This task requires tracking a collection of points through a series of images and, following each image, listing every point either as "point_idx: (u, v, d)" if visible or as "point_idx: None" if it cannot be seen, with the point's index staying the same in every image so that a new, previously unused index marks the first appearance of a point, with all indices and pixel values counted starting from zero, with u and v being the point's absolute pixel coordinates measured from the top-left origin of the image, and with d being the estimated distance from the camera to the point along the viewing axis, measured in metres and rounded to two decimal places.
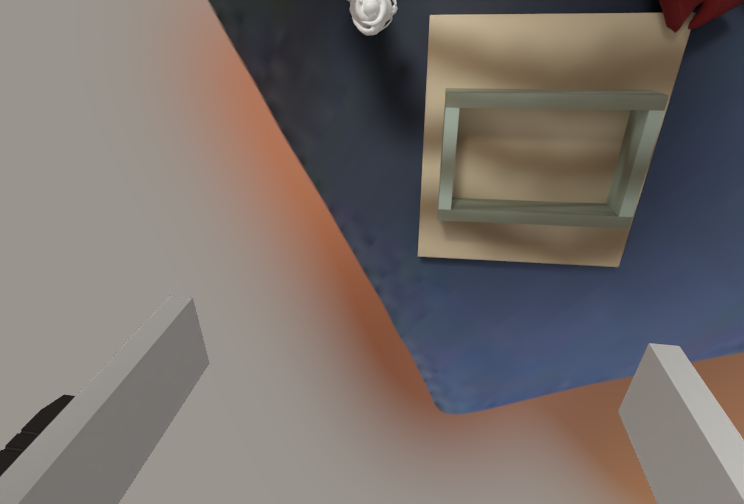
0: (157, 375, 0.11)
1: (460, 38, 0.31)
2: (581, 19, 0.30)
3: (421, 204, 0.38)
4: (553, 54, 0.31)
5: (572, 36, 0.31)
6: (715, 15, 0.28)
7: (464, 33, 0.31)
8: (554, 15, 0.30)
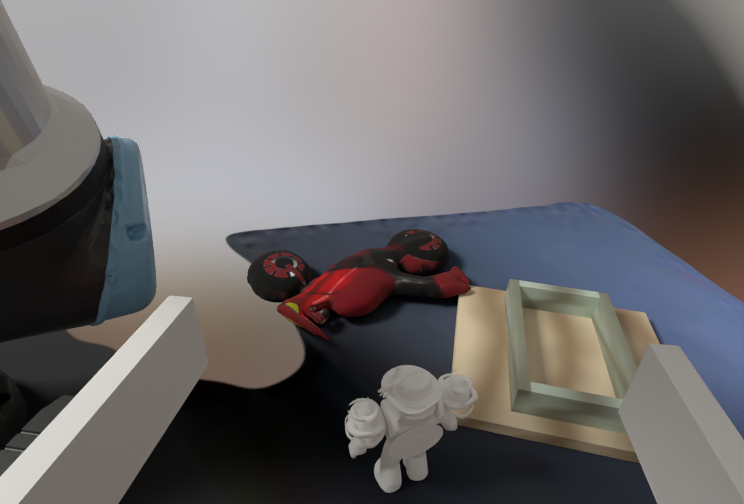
0: (157, 375, 0.11)
1: None
2: (460, 327, 0.44)
3: None
4: (482, 341, 0.42)
5: (470, 331, 0.43)
6: (463, 274, 0.50)
7: None
8: (456, 339, 0.42)
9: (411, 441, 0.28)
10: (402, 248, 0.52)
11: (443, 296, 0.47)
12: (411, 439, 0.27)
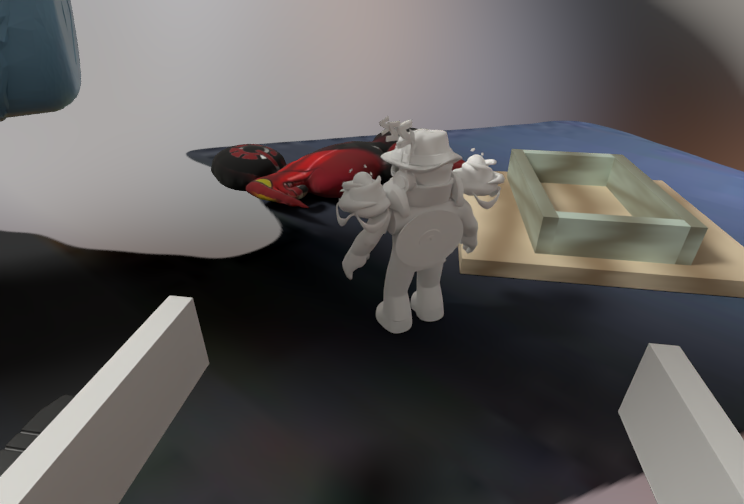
0: (157, 375, 0.11)
1: (482, 243, 0.31)
2: None
3: (697, 276, 0.27)
4: None
5: (474, 199, 0.37)
6: None
7: (477, 241, 0.31)
8: None
9: (424, 236, 0.21)
10: None
11: None
12: (424, 233, 0.21)
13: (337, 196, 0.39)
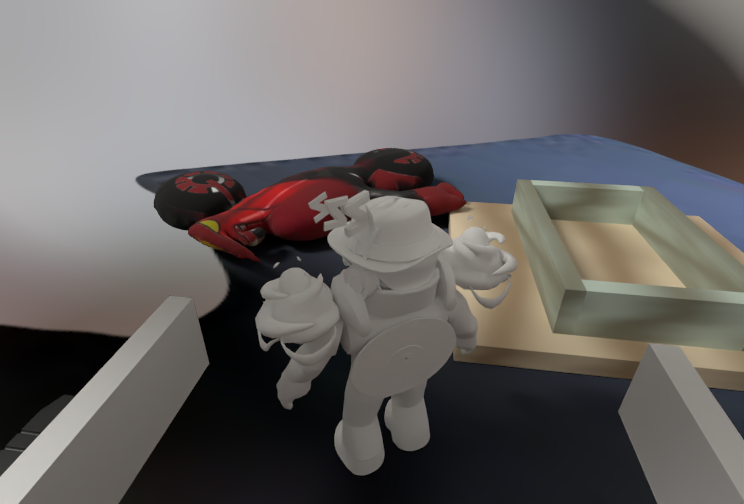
0: (157, 375, 0.11)
1: (483, 316, 0.23)
2: None
3: None
4: None
5: None
6: (455, 188, 0.37)
7: (476, 313, 0.23)
8: None
9: (396, 356, 0.14)
10: (371, 164, 0.39)
11: None
12: (395, 352, 0.14)
13: (303, 240, 0.31)
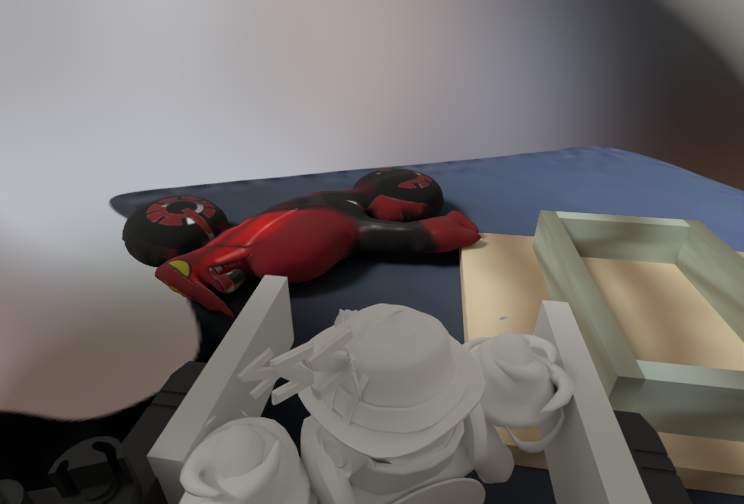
0: (265, 345, 0.12)
1: None
2: (470, 287, 0.26)
3: None
4: (511, 306, 0.24)
5: (489, 293, 0.25)
6: (468, 218, 0.32)
7: None
8: (467, 306, 0.24)
9: None
10: (372, 188, 0.34)
11: (437, 249, 0.29)
12: None
13: (289, 283, 0.27)
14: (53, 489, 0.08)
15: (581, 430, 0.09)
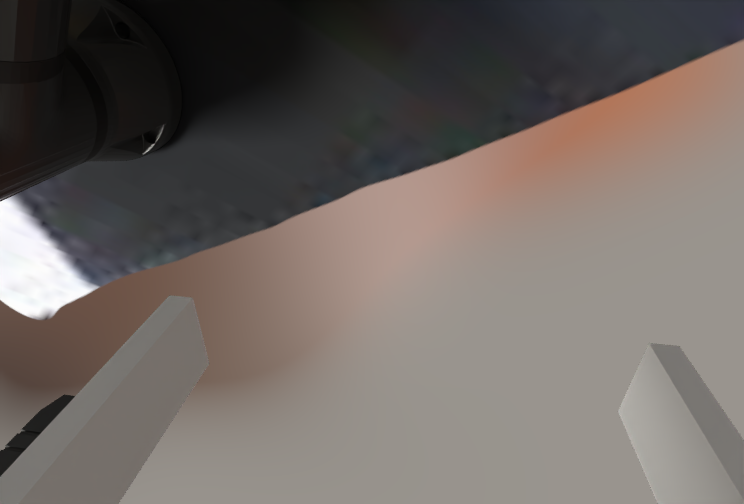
0: (157, 375, 0.11)
1: None
2: None
3: None
4: None
5: None
6: None
7: None
8: None
9: None
10: None
11: None
12: None
13: None
14: None
15: None
